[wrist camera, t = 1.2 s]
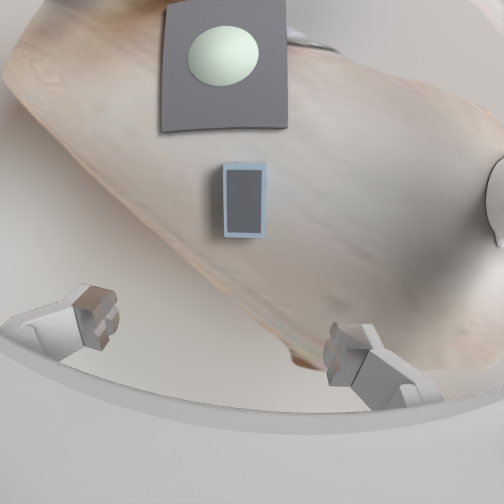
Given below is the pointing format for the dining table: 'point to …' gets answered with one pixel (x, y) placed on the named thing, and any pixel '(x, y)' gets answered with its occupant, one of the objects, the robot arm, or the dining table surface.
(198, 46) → the charging mat
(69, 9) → the dining table surface
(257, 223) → the phone
